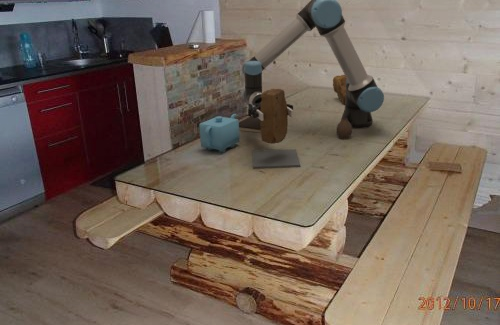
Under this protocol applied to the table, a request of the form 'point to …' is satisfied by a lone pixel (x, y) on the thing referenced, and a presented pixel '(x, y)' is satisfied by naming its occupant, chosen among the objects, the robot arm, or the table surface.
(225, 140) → the teapot
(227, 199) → the table surface
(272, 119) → the block
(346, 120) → the vase
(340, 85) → the rough brown rock
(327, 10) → the robot arm
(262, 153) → the mat
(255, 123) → the hardcover book
